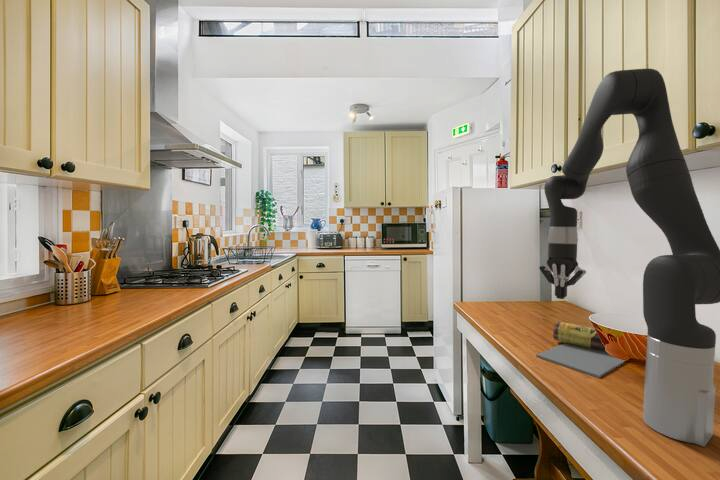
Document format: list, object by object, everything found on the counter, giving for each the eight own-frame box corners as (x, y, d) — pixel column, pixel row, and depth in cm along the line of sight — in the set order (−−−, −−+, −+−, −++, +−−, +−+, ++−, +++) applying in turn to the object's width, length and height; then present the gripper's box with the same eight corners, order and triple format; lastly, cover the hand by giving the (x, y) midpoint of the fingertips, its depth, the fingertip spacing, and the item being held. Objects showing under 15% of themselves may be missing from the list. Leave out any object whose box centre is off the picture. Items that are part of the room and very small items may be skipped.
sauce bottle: (557, 320, 113) (632, 333, 100) (555, 338, 112) (631, 354, 99) (553, 321, 108) (632, 336, 95) (551, 341, 107) (630, 358, 95)
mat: (631, 358, 97) (631, 356, 97) (598, 377, 84) (599, 375, 84) (571, 342, 110) (571, 340, 110) (536, 356, 98) (536, 354, 98)
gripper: (534, 241, 105) (532, 295, 106) (580, 243, 94) (578, 304, 95) (546, 240, 109) (545, 293, 110) (592, 242, 98) (590, 301, 99)
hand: (560, 298), depth 102 cm, fingers closed
